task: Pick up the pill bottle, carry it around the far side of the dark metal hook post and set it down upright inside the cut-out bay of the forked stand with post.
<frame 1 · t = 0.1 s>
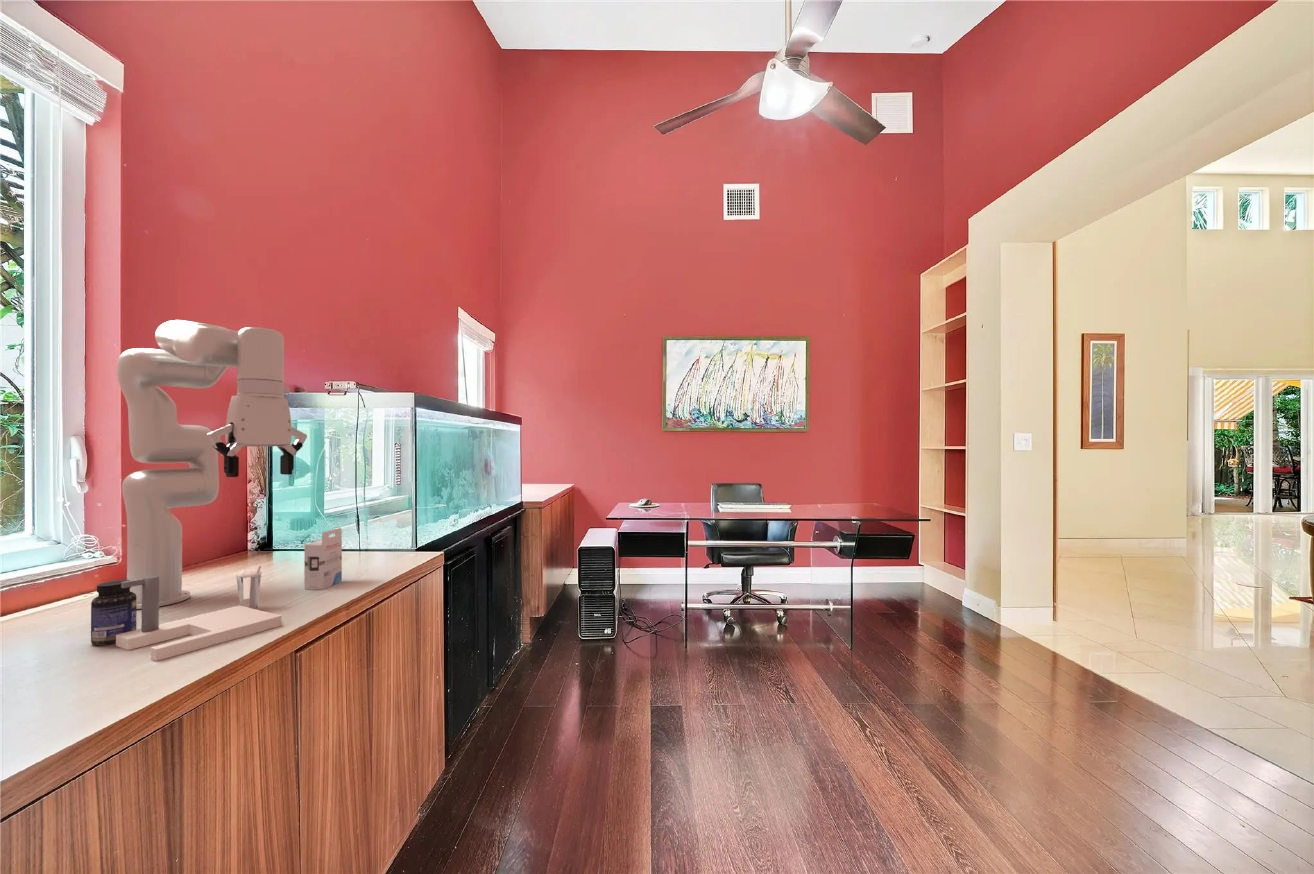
hand: (260, 475, 106), 31 cm above the cabinet, tool pointing down, fingers open, 9 cm apart
forked stand with post: (202, 635, 104), on the cabinet
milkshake: (250, 610, 120), on the cabinet
ink box: (323, 586, 140), on the cabinet
pill bottle: (113, 641, 101), on the cabinet
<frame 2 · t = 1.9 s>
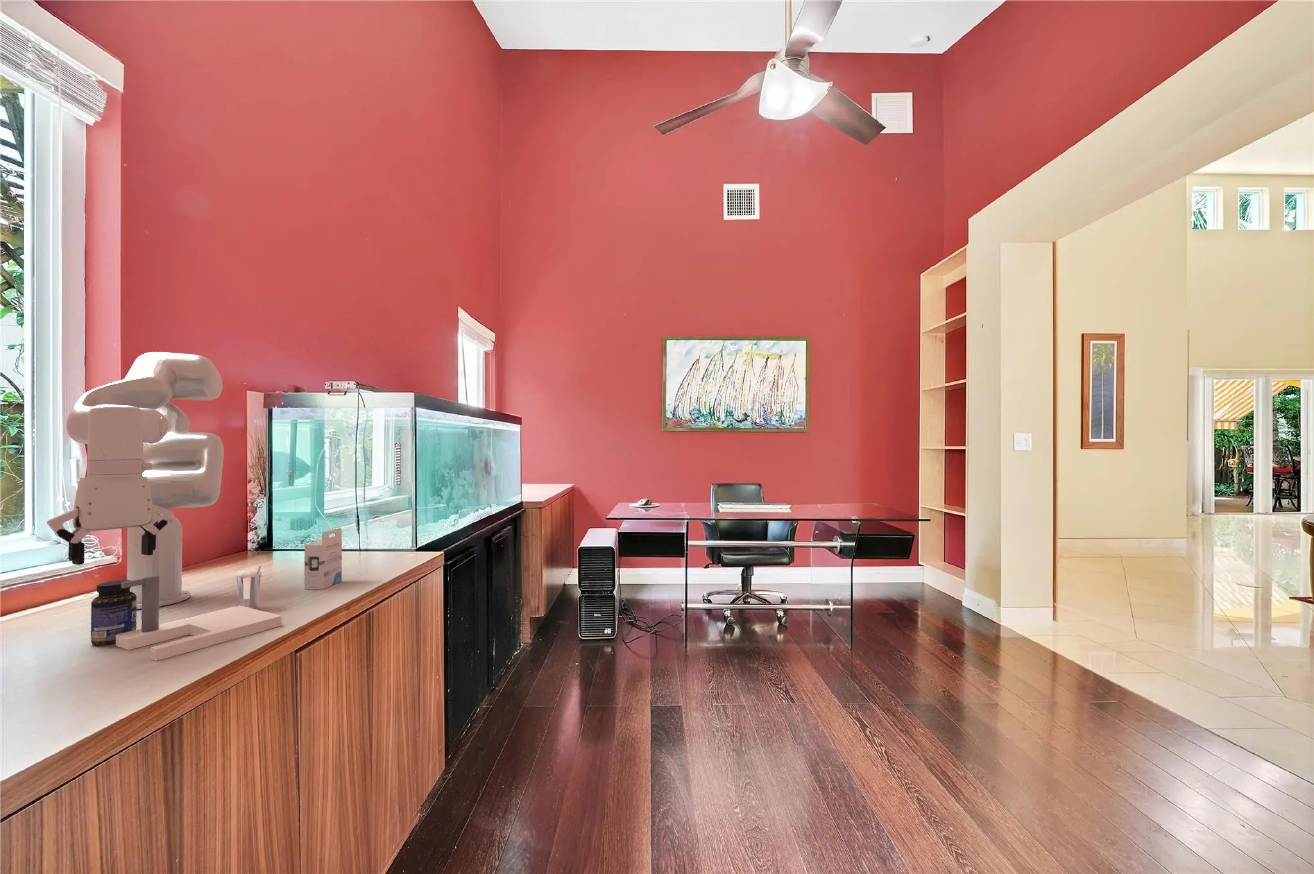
hand: (114, 559, 101), 16 cm above the cabinet, tool pointing down, fingers open, 9 cm apart
nothing on the cabinet moved.
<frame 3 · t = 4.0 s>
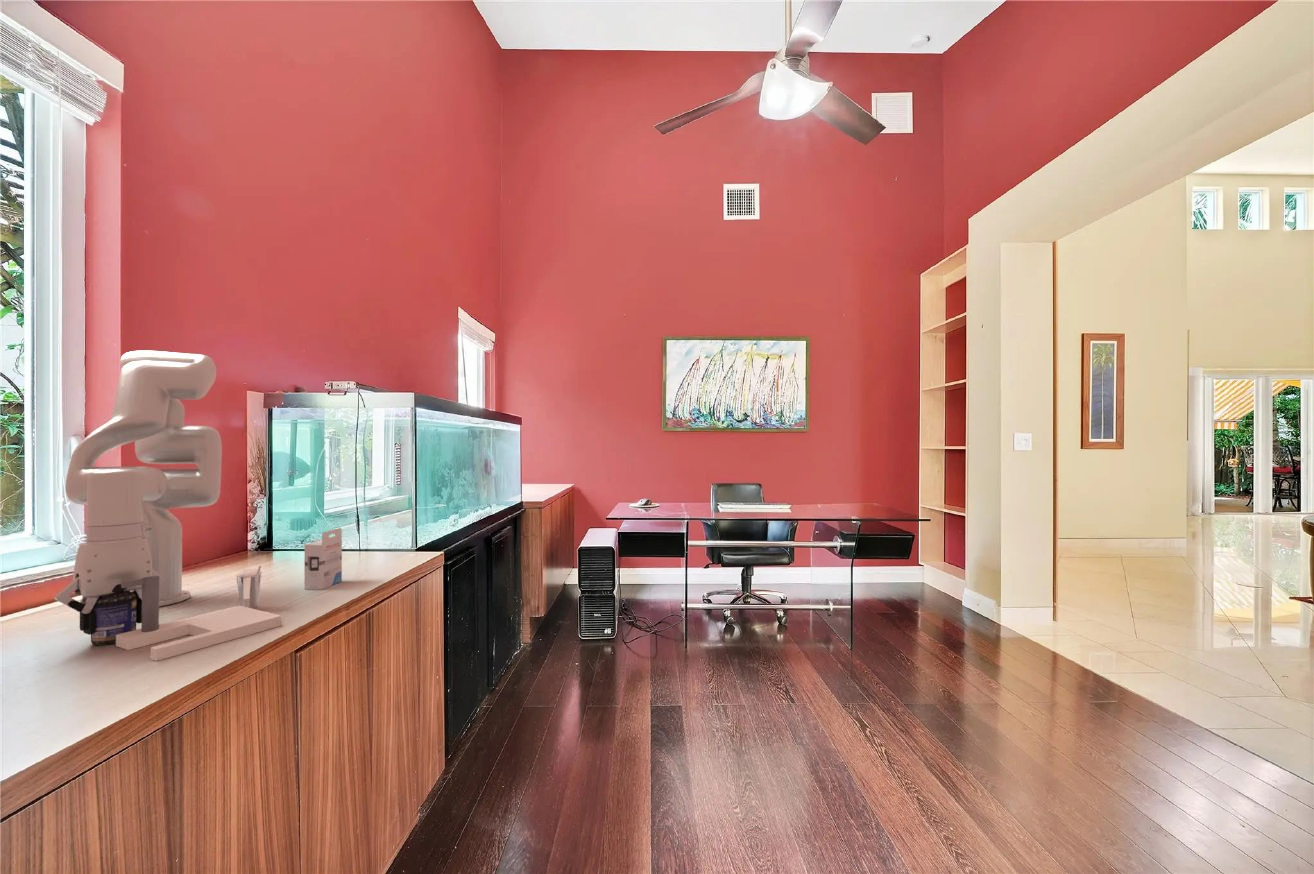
hand: (114, 626, 101), 3 cm above the cabinet, tool pointing down, fingers closed on pill bottle, 6 cm apart
pill bottle: (113, 641, 101), on the cabinet, touching gripper
everything else where it was.
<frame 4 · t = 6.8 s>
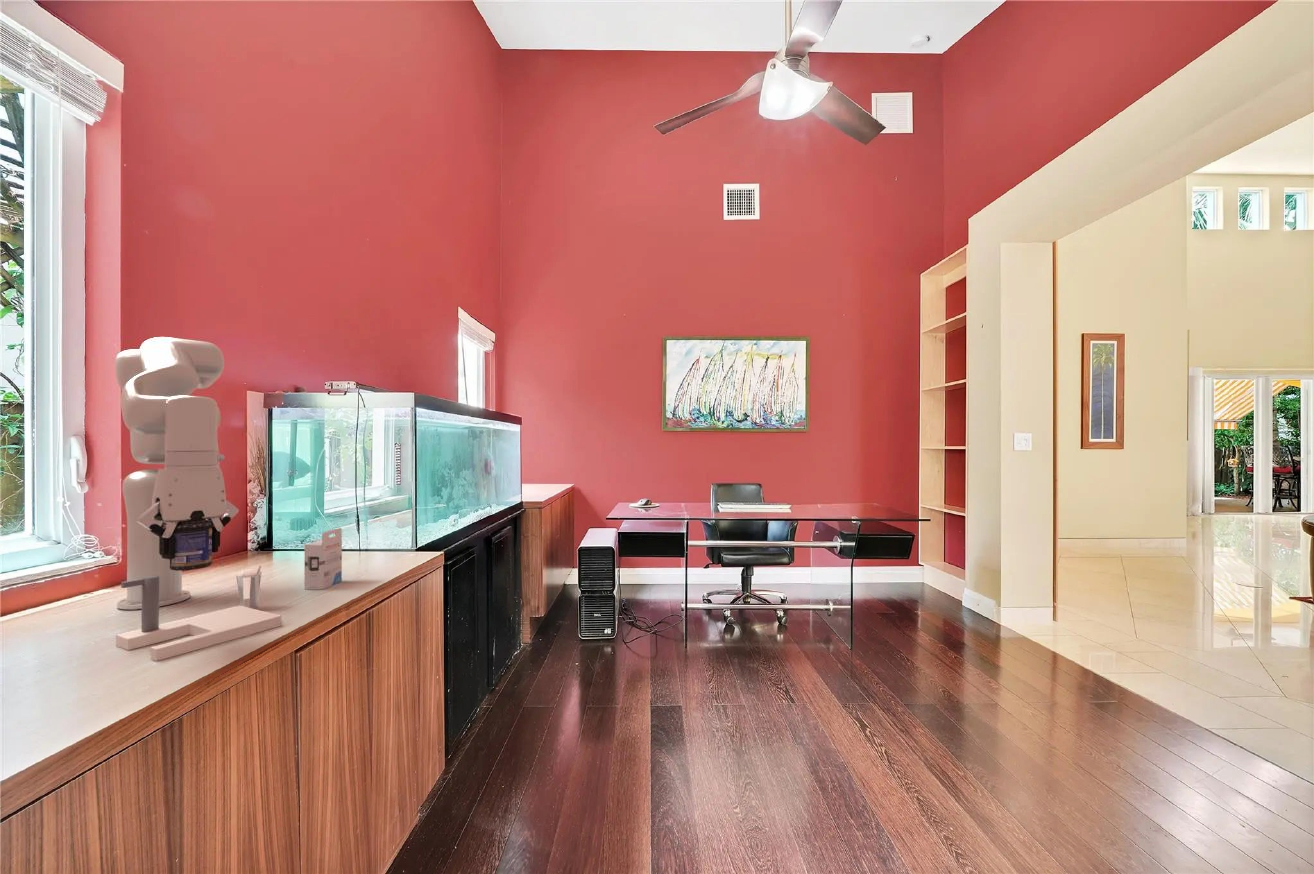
hand: (190, 554, 101), 16 cm above the cabinet, tool pointing down, fingers closed on pill bottle, 6 cm apart
pill bottle: (190, 568, 101), point 14 cm above the cabinet, touching gripper
everything else where it was.
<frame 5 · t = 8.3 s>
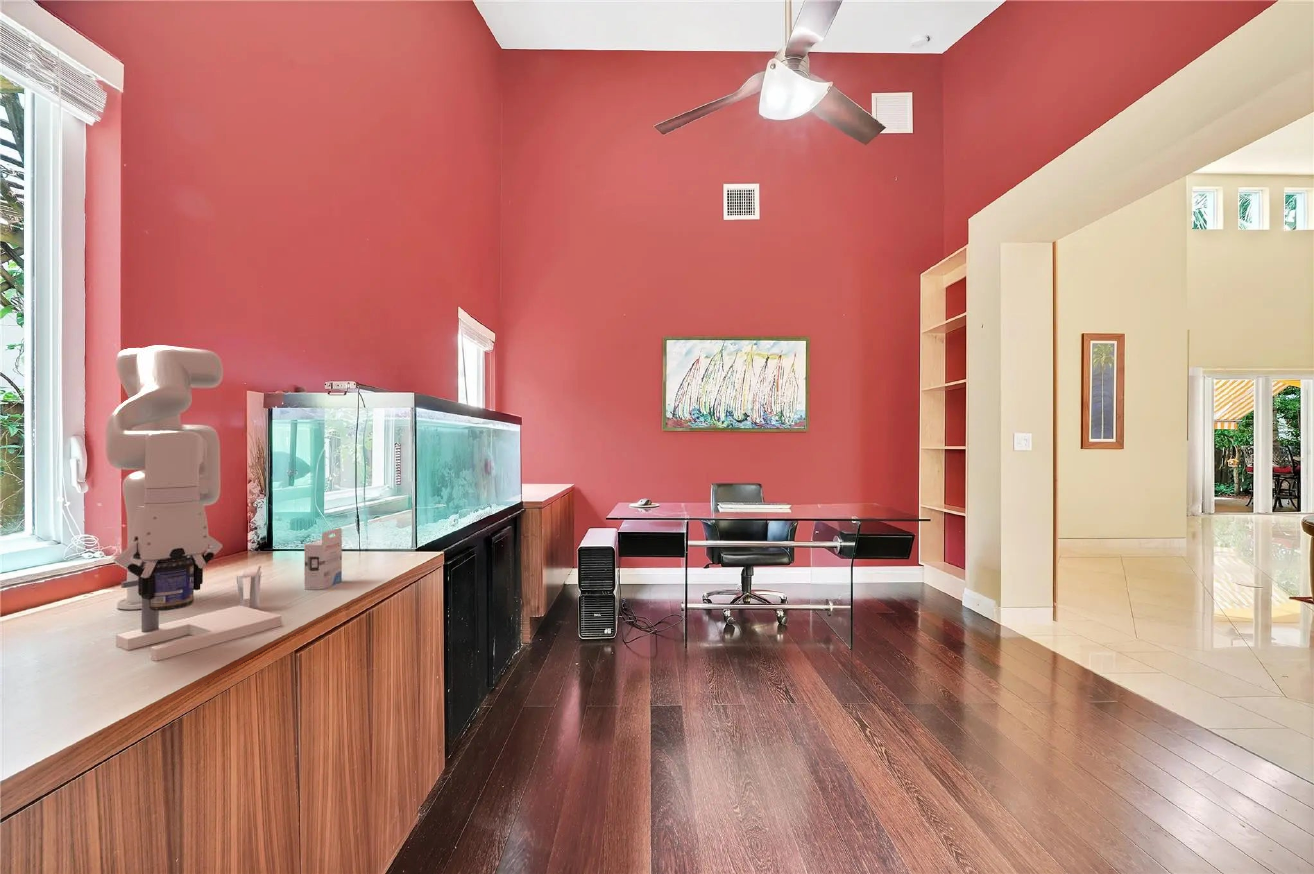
hand: (171, 592, 98), 10 cm above the cabinet, tool pointing down, fingers closed on pill bottle, 6 cm apart
pill bottle: (171, 608, 98), point 7 cm above the cabinet, touching gripper
everything else where it was.
when the fingers open (4 cm above the cabinet, at t = 9.7 s): pill bottle drops 2 cm, on the cabinet.
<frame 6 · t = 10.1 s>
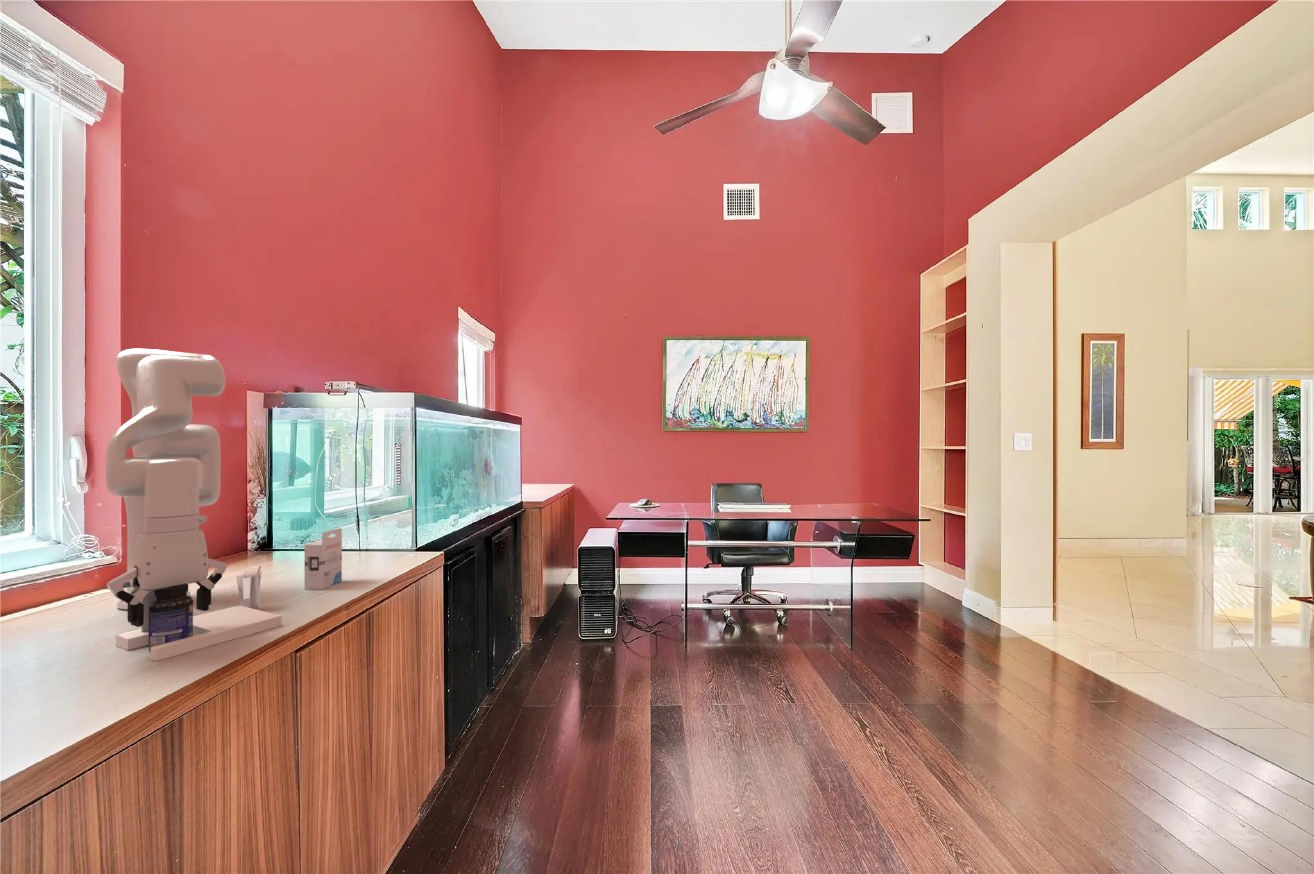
hand: (171, 617, 98), 5 cm above the cabinet, tool pointing down, fingers open, 9 cm apart
pill bottle: (170, 646, 98), on the cabinet
everything else where it was.
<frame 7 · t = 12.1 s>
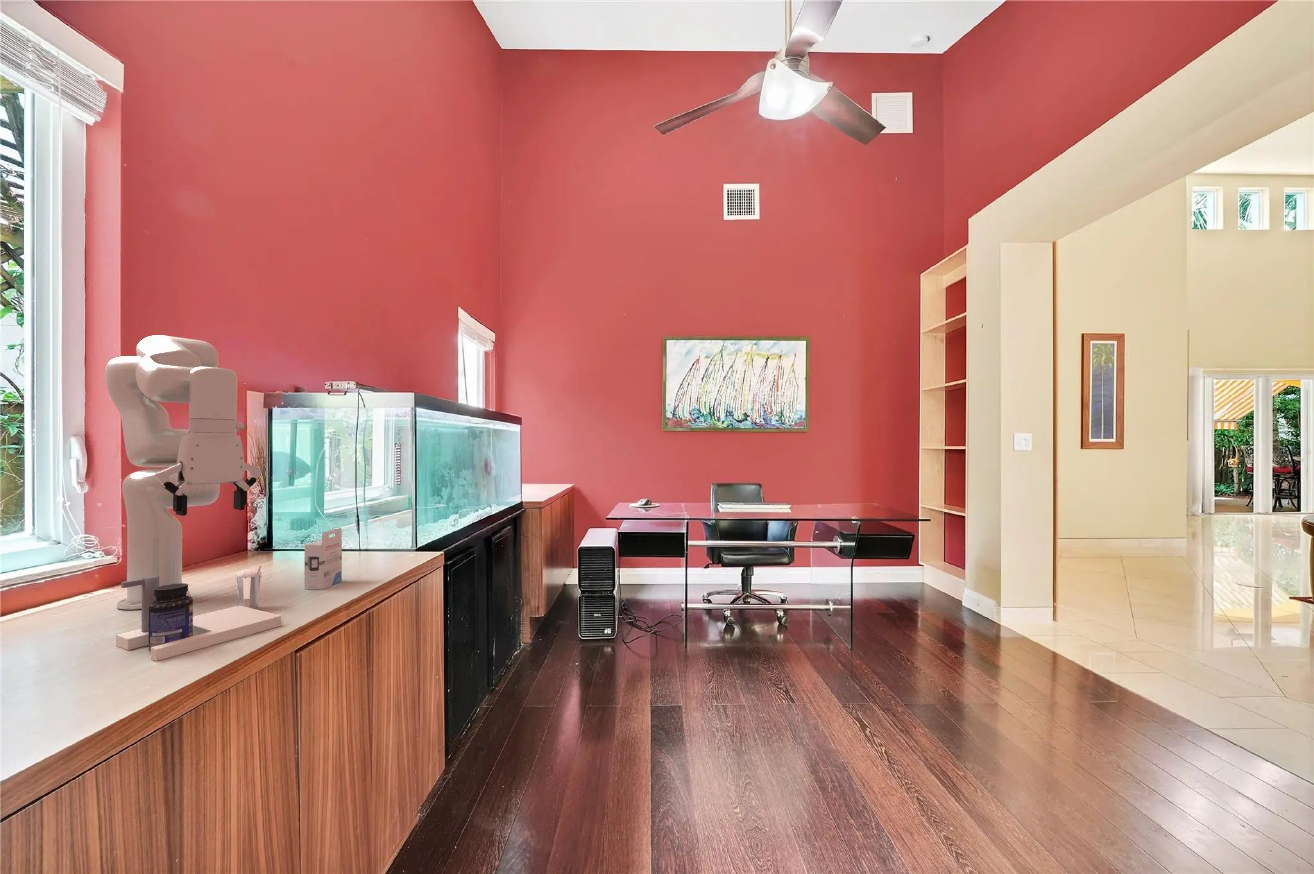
hand: (211, 512, 108), 24 cm above the cabinet, tool pointing down, fingers open, 9 cm apart
nothing on the cabinet moved.
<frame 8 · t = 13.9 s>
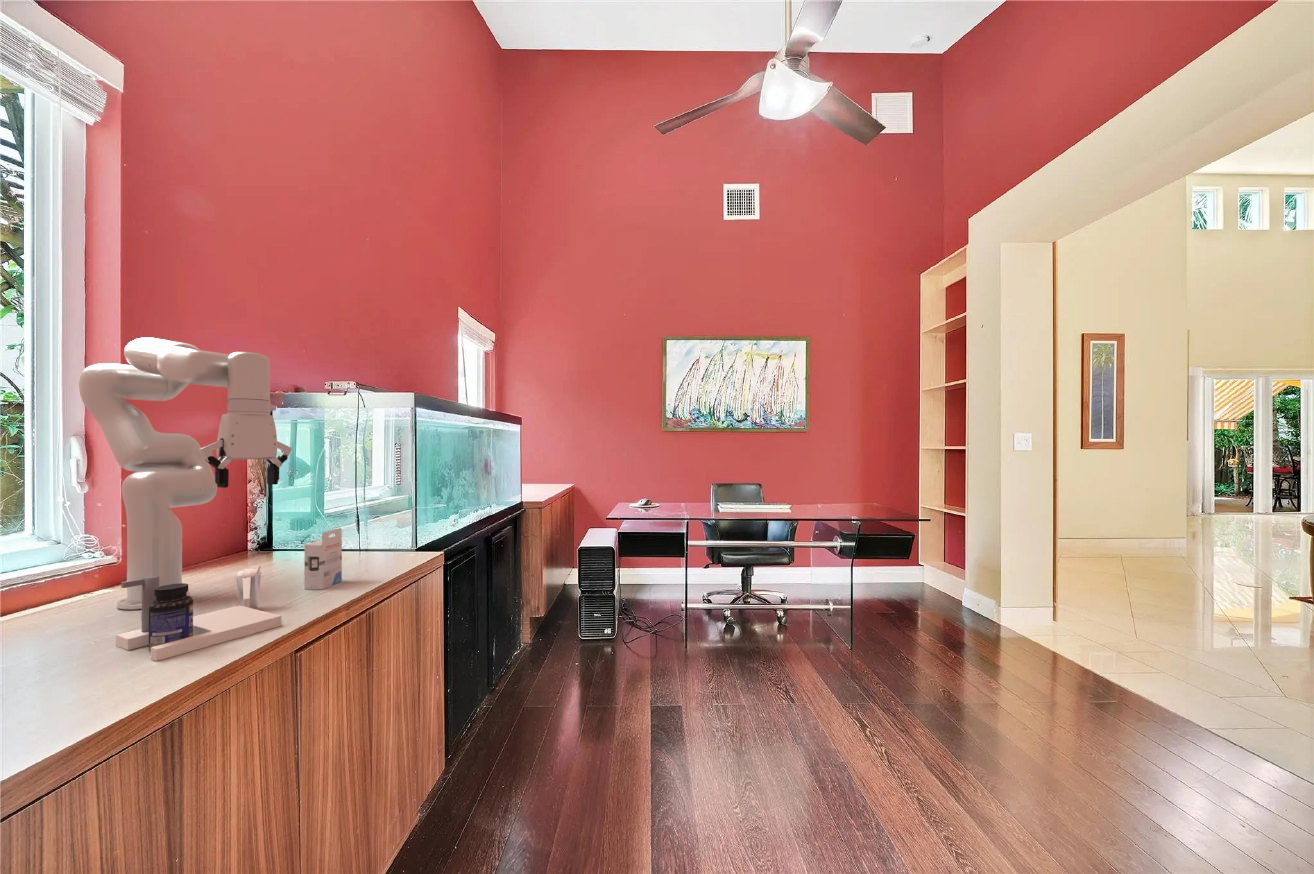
hand: (248, 485, 117), 28 cm above the cabinet, tool pointing down, fingers open, 9 cm apart
nothing on the cabinet moved.
at the end: pill bottle 0.1 cm from the target spot, on the cabinet; pill bottle tilted 0°; the gripper is holding nothing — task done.
